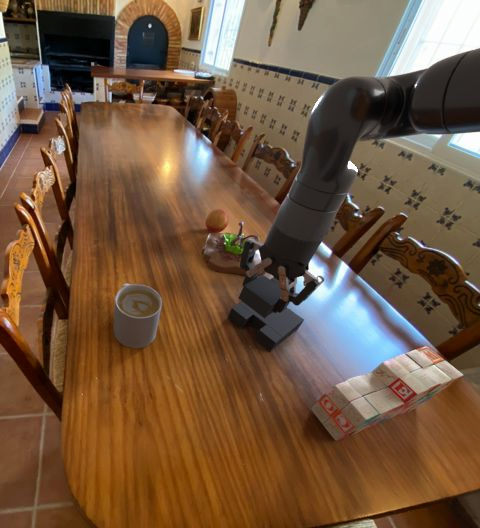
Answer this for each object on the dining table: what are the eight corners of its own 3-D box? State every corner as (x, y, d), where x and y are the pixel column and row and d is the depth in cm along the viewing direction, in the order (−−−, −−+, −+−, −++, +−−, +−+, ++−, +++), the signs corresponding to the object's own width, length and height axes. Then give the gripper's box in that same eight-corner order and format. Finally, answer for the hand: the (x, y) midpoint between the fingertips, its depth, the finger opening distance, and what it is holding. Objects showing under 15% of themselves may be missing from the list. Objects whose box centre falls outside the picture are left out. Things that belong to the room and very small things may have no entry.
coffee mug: (160, 346, 65) (167, 316, 59) (115, 350, 64) (117, 320, 58) (148, 302, 76) (153, 272, 69) (110, 304, 74) (111, 274, 68)
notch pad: (298, 328, 72) (304, 319, 70) (269, 352, 66) (275, 343, 64) (256, 298, 79) (261, 289, 77) (227, 317, 73) (231, 307, 71)
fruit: (230, 234, 103) (237, 214, 98) (212, 239, 100) (218, 218, 95) (216, 223, 109) (221, 203, 104) (198, 227, 106) (203, 207, 101)
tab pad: (289, 300, 58) (296, 287, 56) (264, 318, 54) (271, 305, 52) (262, 282, 62) (269, 270, 60) (238, 298, 58) (243, 285, 55)
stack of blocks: (335, 443, 52) (377, 411, 44) (308, 408, 57) (342, 374, 49) (416, 408, 58) (466, 374, 50) (386, 379, 63) (427, 344, 55)
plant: (260, 243, 100) (272, 214, 93) (270, 281, 85) (286, 250, 78) (201, 233, 102) (208, 204, 95) (200, 269, 87) (209, 237, 80)
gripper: (247, 211, 49) (219, 285, 59) (334, 258, 40) (284, 334, 51) (272, 201, 52) (242, 272, 63) (357, 241, 44) (306, 315, 55)
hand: (261, 299), depth 57 cm, fingers closed on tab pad, 6 cm apart
